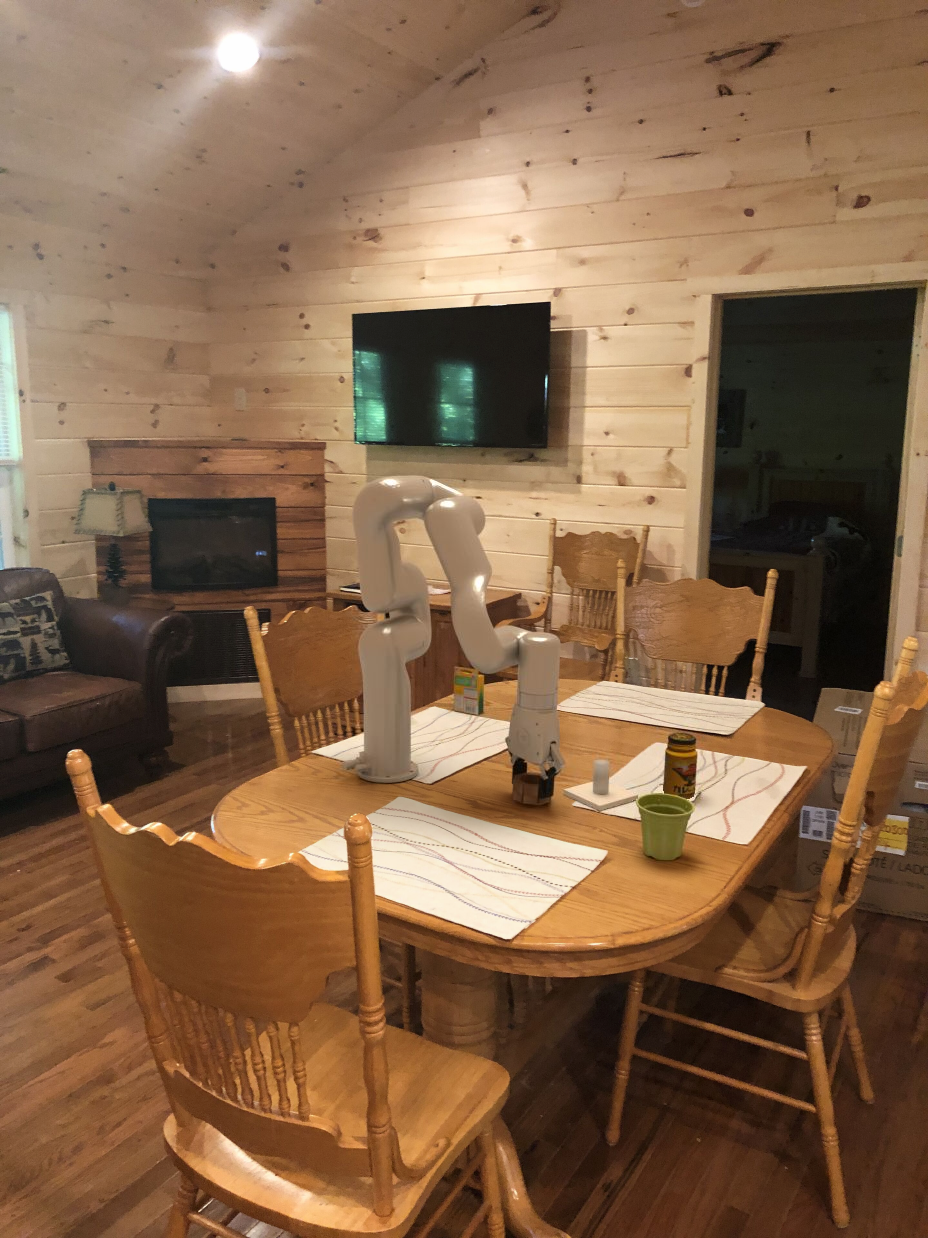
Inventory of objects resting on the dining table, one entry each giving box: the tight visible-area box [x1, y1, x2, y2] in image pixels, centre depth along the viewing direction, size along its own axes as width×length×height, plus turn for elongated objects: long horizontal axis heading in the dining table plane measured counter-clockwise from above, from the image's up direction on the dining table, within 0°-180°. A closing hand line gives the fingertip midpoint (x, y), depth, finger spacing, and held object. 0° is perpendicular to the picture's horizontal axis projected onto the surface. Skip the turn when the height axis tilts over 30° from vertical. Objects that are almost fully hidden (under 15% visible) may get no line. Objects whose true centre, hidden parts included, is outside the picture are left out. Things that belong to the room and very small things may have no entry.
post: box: [562, 759, 639, 812], centre depth 176 cm, size 10×10×7 cm
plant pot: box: [635, 793, 696, 861], centre depth 152 cm, size 9×9×9 cm
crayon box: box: [453, 666, 485, 716], centre depth 232 cm, size 7×3×12 cm, turn 58°
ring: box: [511, 771, 552, 806], centre depth 174 cm, size 7×7×4 cm
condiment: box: [658, 732, 698, 799], centre depth 178 cm, size 7×8×12 cm
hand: (532, 789), depth 174 cm, fingers closed on ring, 7 cm apart
